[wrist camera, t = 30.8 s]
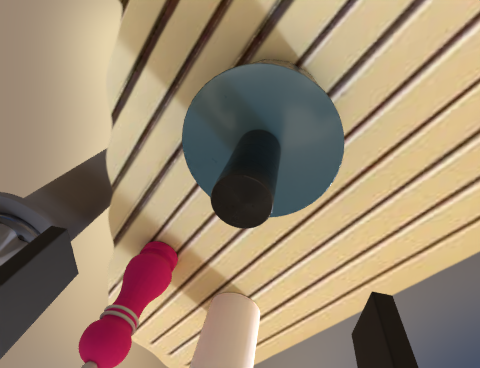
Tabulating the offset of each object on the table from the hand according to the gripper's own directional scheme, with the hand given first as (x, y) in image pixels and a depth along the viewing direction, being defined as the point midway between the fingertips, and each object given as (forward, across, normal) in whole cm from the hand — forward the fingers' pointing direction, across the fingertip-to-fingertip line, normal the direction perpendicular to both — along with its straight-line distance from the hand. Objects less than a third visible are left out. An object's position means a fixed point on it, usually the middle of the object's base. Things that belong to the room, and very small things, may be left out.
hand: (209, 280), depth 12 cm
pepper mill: (+26, -15, -26) cm, 39 cm away
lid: (+16, 0, 0) cm, 16 cm away
